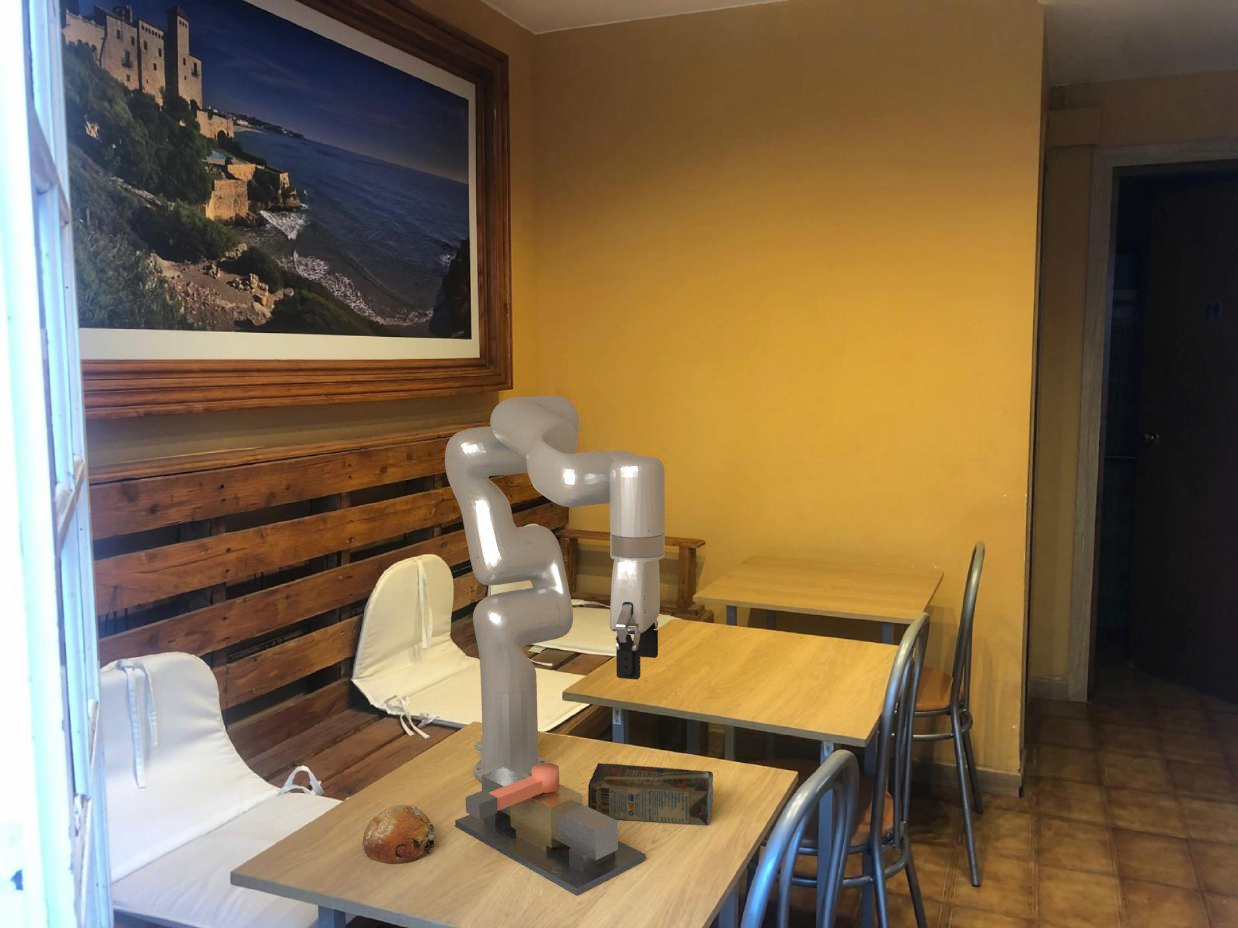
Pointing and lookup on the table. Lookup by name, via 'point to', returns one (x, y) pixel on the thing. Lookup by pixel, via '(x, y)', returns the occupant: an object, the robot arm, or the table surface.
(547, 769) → the lever
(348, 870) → the table surface
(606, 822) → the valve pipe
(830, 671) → the table surface
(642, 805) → the beverage carton
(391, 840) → the bread roll
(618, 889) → the table surface
